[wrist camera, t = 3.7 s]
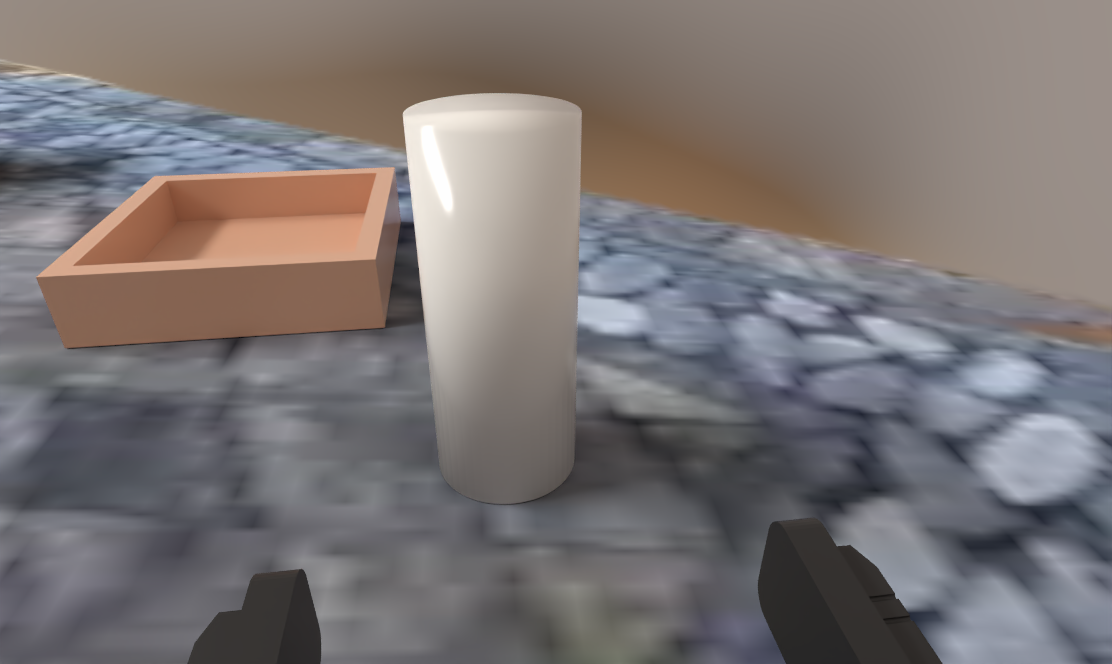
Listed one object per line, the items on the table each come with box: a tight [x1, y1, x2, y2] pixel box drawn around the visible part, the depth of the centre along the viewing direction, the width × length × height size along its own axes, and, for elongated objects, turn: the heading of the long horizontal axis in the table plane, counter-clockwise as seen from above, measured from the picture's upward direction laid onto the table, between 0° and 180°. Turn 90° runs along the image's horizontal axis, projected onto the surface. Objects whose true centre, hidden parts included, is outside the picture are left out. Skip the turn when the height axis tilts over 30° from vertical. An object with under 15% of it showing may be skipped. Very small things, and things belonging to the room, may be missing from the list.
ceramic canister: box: [403, 93, 582, 504], centre depth 22 cm, size 5×5×12 cm
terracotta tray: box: [36, 167, 401, 348], centre depth 37 cm, size 14×14×4 cm
